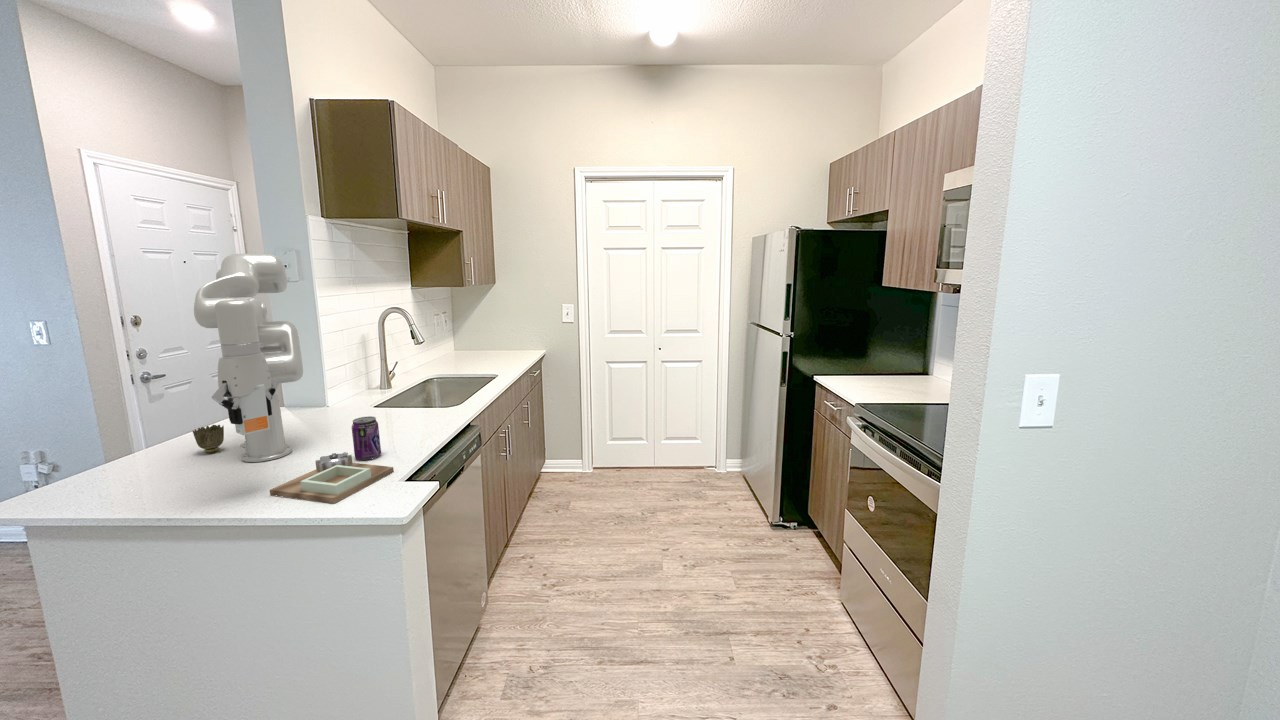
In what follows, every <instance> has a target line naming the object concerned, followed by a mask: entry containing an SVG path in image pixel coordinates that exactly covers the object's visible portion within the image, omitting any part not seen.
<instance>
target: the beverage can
mask: <svg viewBox="0 0 1280 720" xmlns="http://www.w3.org/2000/svg"><path fill="white" fill-rule="evenodd" d="M379 429H380V428H379V423H378V420H377V418H376V416H362V417H357V418H355V419H353V420H352V425H351V434H352V442H353V443H352V444H353V452H354V453H353V454H354V458H355V459H357V460H360V461H369V460H373V459H376V458H377V457H379V456H380V455H381V454H382V448H381V439H380V430H379ZM375 457H376V458H375ZM372 458H373V459H372ZM368 459H369V460H368Z"/></svg>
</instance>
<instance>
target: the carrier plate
mask: <svg viewBox="0 0 1280 720" xmlns="http://www.w3.org/2000/svg"><path fill="white" fill-rule="evenodd" d="M352 464H353V466H351V467H360V468H369V469H370V470H371V478H369V479H367V480H365V481H364V482H362V483H360V484H358V485H356V486H354V487H352V488H350V489H348V490H346V491H344V492H342V493H340V494H339V495H332V494H324V493H316V492H308V491H302V490H301V483H300V481H302V480H304V479H307V478H309V477H311V476H313V475H315V474H318V473H320V471H319V472H317V469H314V470H311V471H310V472H306V473H304V474H302V475H300V476H298V477H296V478H293V479H291V480H288V481H287V482H284V483H282V484H279V485H277V486H275V487H273V488H270V489H269V495H270V496H272V495H277V496H276V497H279V496H283V497H282V498H287V497H291V498H290V499H294V498H297V499H296V500H302V499H303V500H304V501H310V500H311V502H319V503H325V504H326V503H327V504H333V505H335V504H337V503H338V502H342V501H343V500H344V499H346V498H348V497H350V496H353V494H355V493H357V492H359V491H361V490H363V489H365V488H367V487H368V486H371V485H372V484H374V483H376V482H378V481H380V480H382V479H384V478H385V477H388V476H389V475H391V474H392V472H393V473H394V470H395V469H394V466H386V465H380V464H378V465H376V464H370V463H359V462H352ZM390 473H391V474H390ZM388 474H389V475H388ZM383 477H384V478H383ZM346 478H348V477H347V476H339V475H338V476H335V477H333V478H331V479H329V480H327V481H325V482H327V483H335V484H336V483H338V482H340V481H342V480H344V479H346ZM381 478H382V479H381ZM379 479H380V480H379Z"/></svg>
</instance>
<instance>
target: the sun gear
mask: <svg viewBox="0 0 1280 720" xmlns="http://www.w3.org/2000/svg"><path fill="white" fill-rule="evenodd" d="M352 457H353V455H352V454H349V453H348V452H343V453H337V452H334V453H331V454H328V455H325V456H324V455H321V456H320V457H319V459H315V462H314V463H315V468H316V469H317V472H319V471H320V472H322V471H324V470H327V469H329V468H331V467H333V466H335V465H342V466H353V464H352V463H353V458H352ZM316 469H315V470H316Z"/></svg>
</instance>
